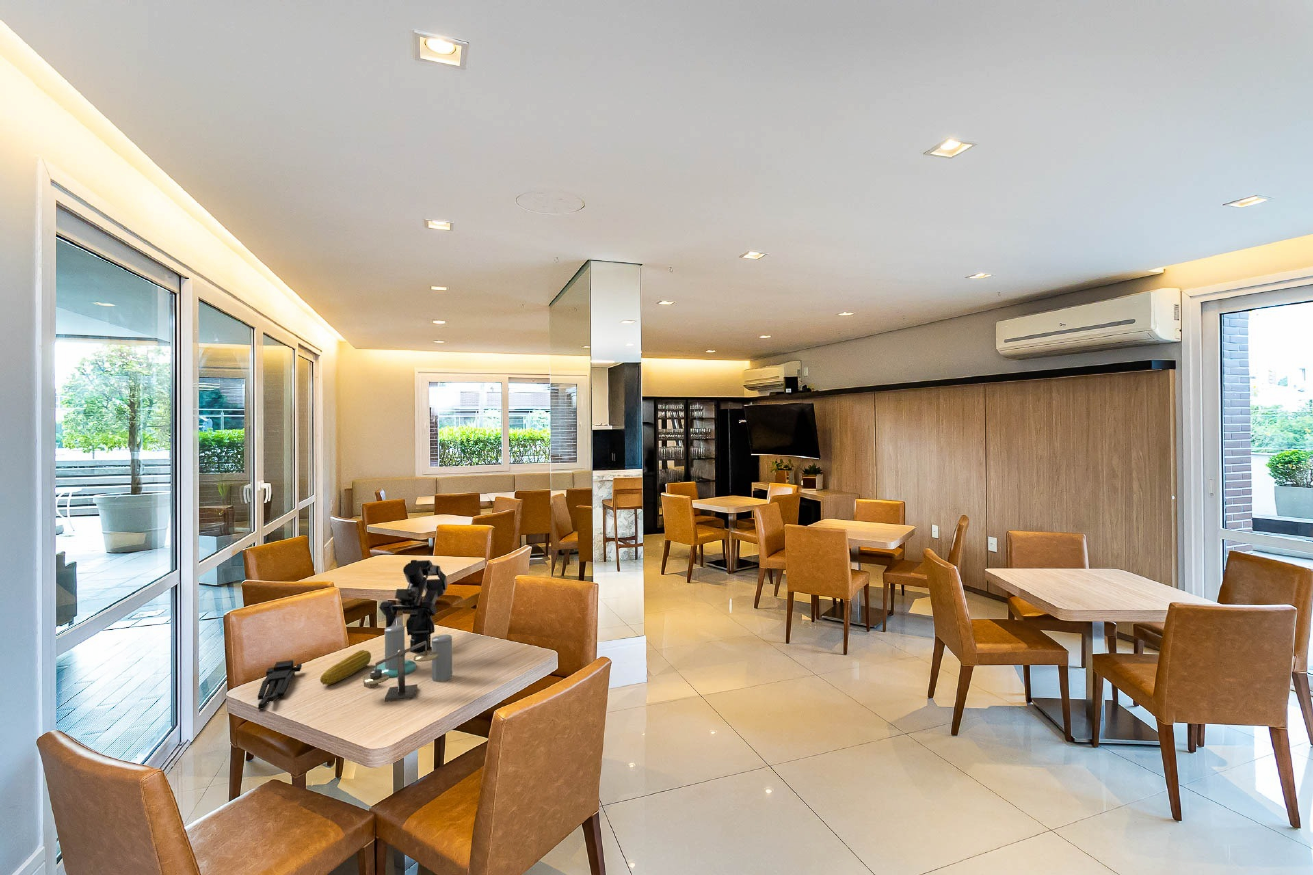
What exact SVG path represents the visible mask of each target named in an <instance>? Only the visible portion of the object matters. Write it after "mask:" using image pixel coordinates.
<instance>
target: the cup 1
mask: <svg viewBox="0 0 1313 875" xmlns="http://www.w3.org/2000/svg"><path fill="white" fill-rule="evenodd" d="M405 629H406V627H405V625H403V624H401V625H400V624H399V625H392V626H390V627H387V628H386V627H385V628H384V659H385V658H387V657H389V656H392V655H394V654H396V653H397V652H398V650H400V649H404V650H406V649H405V648H406V646H405V643H406V642H405V638H406V637H405V633H406V632H405ZM384 663H385V669H386V670H396V669H398V657H396V658H393V659H391V660H389V661H386V662H384Z"/></svg>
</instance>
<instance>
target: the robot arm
mask: <svg viewBox="0 0 1313 875" xmlns="http://www.w3.org/2000/svg"><path fill="white" fill-rule="evenodd" d="M402 572H403V574H404V577H405V579H406V582H407V583H408V585H407V588H396V590H395V595H394V599H395V600H396V599H397V600H398V603H399V604H395V603H394V601H390V600H388V601H387V600H386V601H385V600H384V601H382V602H380V604H379V607H378V609H379V610H380V611H381V612H382V614H383V615H384V616H385V620H386V621H385V628H387V627H390V626H393V623H394V622H395V619H396V618H397V617H396V615H397V614H398V612H410V614H409V616H408V618H407V619H406V623H405V626H406V627H405V629H406V634H407V636H410V639H409V648H410V647H412V646H415V645H417V644H419V643H422V642H424V641H426V642H427V652H429V651H430V650H432V638H431V637H432V636H431V635H432V634H434V633H436V632H435V623H434V621H433V618H432V617H434V616H435V615H436V614H437V608H436V606H435V604H436V602H437V600H438V598H439V597H442V596H443V595H445V593H446V591H447V589H448V581H447V575H446V574H445V573H444V572H443V571H442V570H441V566H440V565H436V564H433V562H432V561H431V560H430V559H427V560H417V559H411V560H410V562H408V563H406V565H405V566H403V570H402ZM430 576H431V577H432V576H437V577H438V578H434V579H433V578H431V579H430V578H429V577H430ZM428 578H429V579H428ZM424 591H425V594H424V596H423V593H424ZM410 652H411V653H416V654H419V653H423V652H425V645H423V646H421V647H418V648H416V649H414V650H412V651H410Z"/></svg>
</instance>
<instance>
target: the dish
mask: <svg viewBox="0 0 1313 875" xmlns="http://www.w3.org/2000/svg"><path fill="white" fill-rule="evenodd" d="M377 669H381V670H382V673H384V674H388V675H389V679H390V678H391V679H392V678H398V669H396V670H386V669H385V662H384V663H382V664H380V665H377ZM416 669H417V666H416V661H415V660H410V659H405V675H408V674H410V673H412V672H414V671H415V670H416ZM373 670H375V667H374V668H373Z"/></svg>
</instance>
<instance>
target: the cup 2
mask: <svg viewBox="0 0 1313 875" xmlns="http://www.w3.org/2000/svg"><path fill="white" fill-rule="evenodd" d="M431 647H432V649H431V652H437V653H438V657H437V658H436V659H433V660H431V680H432V681H433V682H437V683H438V682H446V681H448V680H449V681H450V680H451V679H452V678H453V636H452V635H450V634H441V635H440V634H439V635H435V636H434V637H432V638H431Z"/></svg>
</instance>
